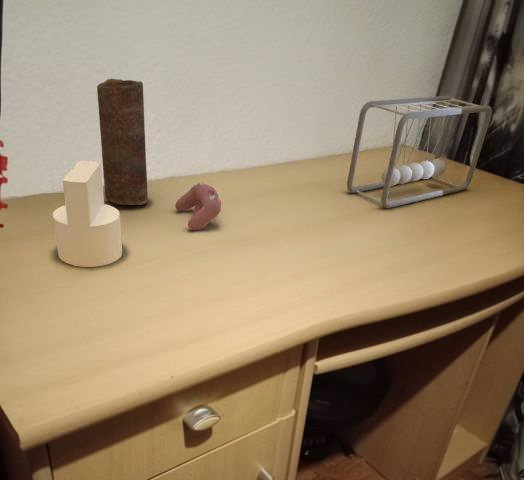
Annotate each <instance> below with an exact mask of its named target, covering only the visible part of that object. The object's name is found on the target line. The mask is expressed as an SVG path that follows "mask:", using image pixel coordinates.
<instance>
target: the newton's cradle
mask: <svg viewBox="0 0 524 480" xmlns="http://www.w3.org/2000/svg"><path fill="white" fill-rule="evenodd" d="M456 102H457V103H460V104H463V105H466V106H460V105H456V104H455V103H456ZM441 103H442V104H441ZM430 104H431V105H430ZM445 104H448V106H445ZM418 105H419V106H418ZM433 105H437V106H440V107H442V108H438V107H435V106H433ZM467 105H468V106H467ZM406 106H407V108H406ZM422 106H424V107H425V106H426V107H430V108H431V109H426V108H422ZM393 107H395V109H392V108H393ZM410 107H414V108H418V109H419V110H413V109H410ZM444 107H445V108H444ZM371 108H377V109H381V110H384V111H387V112H391V113H394V114H395V115H394V125H393V127H394V128H393V137H394V138H392V139H393V140H392V148H391V153H390V158H389V162H388V166H387V167H386V168H385V169H384V170H383V171H382V173H381V181H379V182H374V183H369V184H363V185H359V186H354V187H353V183H354V177H355V172H356V168H357V164H358V163H357V162H358V157H359V151H360V146H361V141H362V137H363V136H362V135H363V130H364V125H365V120H366V115H367V112H368V111H369V109H371ZM397 108H401V109H404V110H407V111H398V109H397ZM484 112H485V117H484V120H483V123H482V126H481V131H480V133H479V137H478V140H477V143H476V147H475V150H474V153H473V156H472V159H471V162H470V165H469V169H468V172H467V175H466V178H465V181H464V182H463V184H462V185H457V184H455V183H452V182H450V181H447V180H444V179H442V178H439V177H441V176H442V175H443V174H444V173H445V172H446V170H447V163H446V162H445V160H443V159H442V158H443V156H444V153H445V151H446V150H447V147H448V144H449V143H450V140H451V138H452V135H453V133H454V131H455V129H456V127H457V124H458V121H459V119H460V117H461V115H464V114H474V113H475V114H476V113H484ZM397 115H400V116H401V118H400V119H399V121H398V123H397V124H396V122H397ZM454 115H458V117H457V120H456V122H455V125H454V127H453V129H452V132H451V133H450V135H449V139H448V141H447V143H446V145H445V147H444V144H445V142H446V138H447V134H448V130H449V126H450V123H451V119H452V116H454ZM444 116H445V119H444V122H443V117H444ZM492 116H493V110H492V107H491V106H490V105H487V104H486V105H479V104H476V103H472V102H467V101H464V100H461V99H456V98H454V97H453V96H452V95H441V96H426V97H410V98H399V99H397V98H396V99H383V100H382V99H381V100H370V101H367V102H366V103H364V104H363V106H362V107H361V109H360V112H359V116H358V121H357V126H356V132H355V138H354V143H353V148H352V152H351V153H352V154H351V158H350V164H349V171H348V176H347V181H346V189H347V191H348V192H349V193H351V194H359V195H362V196H363V197H366V198H368V199H370V200H373V201H375V202H376V203H380V204H381V205H382V207H383V208H384V209H391V208H396V207H399V206H403V205H404V206H405V205H407V204H412V203H416V202H421V201H425V200H429V199H433V198H437V197H441V196H445V195H450V194H454V193H457V192H463V191H465V190H466V189H467V188H468V187H469V186H470V184H471V182H472V179H473V177H474V173H475V170H476V167H477V164H478V161H479V158H480V155H481V150H482V148H483V145H484V142H485V138H486V135H487V132H488V129H489V125H490V122H491V120H492ZM434 117H436V119H435V122H434V124H433V126H432V129H431V124H432V118H434ZM439 117H441V119H440V121H441V122H440V131H439V137H438V139H437V142H436V143H435V146H434V148H433V149H432V152H431V155H430V158H429V159H428V155H426V157H425V160H423V161H421V158H422V156H423V153H424V151H425V149H426V154H428V152H429V143H430V142H429V141H430V138H431V135H432V132H433V130H434V128H435V125H436V123H437V121H438V118H439ZM427 118H430V119H429V130H428V137H427V140H426V143H425V144H424V147H423V149H422V152H421V154H420V156H419V159H418V161H416V160H417V155H415V157H414V162H412V163H410V164H409V161H410V159H411V157H412V153H413V151H414V149H415V154H417V153H418V152H417V151H418V145H417V144H418V142H419V137H420V135H421V133H422V132H421V131H422V129H423V127H424V125H425V122H426V120H427ZM415 119H418V126H417V136H416V140H415V142H414V145H413V147H412V149H411V152H410V155H409V157H408V159H407V162H406V163H405V157H406V150H403V148H404V149H406V147H407V138H408V135H409V133H410V131H411V128H412V125H413V123H414V120H415ZM421 119H424V120H423V123H422V125H421V127H420V122H421ZM409 120H412V121H411V124H410V126H409V129H408V124H409ZM405 124H406V130H405V139H404V141H403V144H402V146H401V140H402V136H403V131H404V128H405ZM396 125H397V126H396ZM400 146H401V149H400ZM426 146H427V147H426ZM436 148H437V149H436ZM443 148H444V150H443ZM399 150H400V151H399ZM435 150H436V152H435ZM402 151H404V153H403V163H402V164H400V165H398V166H397V164H398V161H399V158H400V155H401V153H402ZM434 152H435V155H434ZM398 153H399V154H398ZM433 155H434V159H433V160H431V159H432V157H433ZM420 161H421V162H420ZM396 166H397V167H396ZM430 178H431V179H434V180H436V181H440V182H442V183H444V184H447V185H450V186H453V187H449V188H444V189H441V190H435V191H431V192H427V193H423V194H419V195H414V196H410V197H405V198H401V199H397V200H393V201H392V200H391V201H388V197H389V192H390V189H391V187H393V186H395V185H400V184H401V185H403V184H407V183H410V182H411V183H412V182H417V181H421V180H428V179H430ZM381 188H383V189H382V193H381V198H380V199H378V198H375V197H373V196H371V195H369V194H367V193H364V192H366V191H370V190H371V191H372V190H375V189H381Z"/></svg>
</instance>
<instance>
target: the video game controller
mask: <svg viewBox="0 0 524 480" xmlns="http://www.w3.org/2000/svg"><path fill="white" fill-rule="evenodd" d="M174 207H175V210H176V211H177V212H187V211H189V210H190V209H192V208H193V210H192V212H193V215H192V216H191V217H190V218H189V220H188V223H187V227H188V229H189V230H191V231H197V230H200V229H203V228H205V227H206V226H207V225H209V223H210V222H212V221H213V219H216V217H218V215H219V214H220V213H221V211H222V200H221V199H219V194H218V191H217V190H216V188H215V187H213V186H212V185H209V184H207V183H201V182H197V184H194V185H193V186H192V187H191V188H190V189H189V190H187V192H186V193H184V194H183V195H182V196H181V197H179V198H178V199H177V200H176V202H175V206H174Z"/></svg>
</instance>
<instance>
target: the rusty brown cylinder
mask: <svg viewBox="0 0 524 480" xmlns="http://www.w3.org/2000/svg"><path fill="white" fill-rule="evenodd" d="M96 92H97V104H98V118H99V119H98V120H99V131H100V132H99V133H100V145H101V158H102V159H101V161H102V172H103V173H102V176H103V188H104V198H105V200H106V201H109V202H112V203H114V204H117V205H122V206H134V205H140V206H142V205H146V204H148V203H149V199H148V198H149V195H148V174H147V173H148V172H147V171H148V170H147V154H146V153H147V152H146V149H147V148H146V128H145V126H146V125H145V101H144V84H143V81H137V80H131V79H125V80H123V79H121V78H119V79H117V78H107V79H106V80H105V81H103V82H101V83H98V85H97V86H96Z"/></svg>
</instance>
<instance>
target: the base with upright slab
mask: <svg viewBox="0 0 524 480" xmlns="http://www.w3.org/2000/svg"><path fill="white" fill-rule="evenodd" d="M102 172H103V169H102V162H99V161H91V160H78V161H77V162H76V164H75V165H73V167H72V169H70V171H69V172H68V173H67V174H66V175H65V176H64V178H62V186H63V197H64V204H65V205H62V206H59V207H58V208H56V209H55V210H53V213H52V218H53V219H52V220H53V226H54V233H55V241H56V242H55V243H56V249H57V255H58V258H59V259H60V260H61V261H62V262H63V263H66V264H68V265H71V266H76V267H81V268H94V267H102V266H103V267H104V266H107V265H110V264H113V263H114V262H117V261H118V260H119V259H120V258H121V256H122V255H123V245H122V228H121V227H122V226H121V213H120V211H119V209H117V208H116V207H114V206H112V205H109V204H106V203H105V199H104V198H105V195H104V182H103V173H102Z"/></svg>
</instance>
